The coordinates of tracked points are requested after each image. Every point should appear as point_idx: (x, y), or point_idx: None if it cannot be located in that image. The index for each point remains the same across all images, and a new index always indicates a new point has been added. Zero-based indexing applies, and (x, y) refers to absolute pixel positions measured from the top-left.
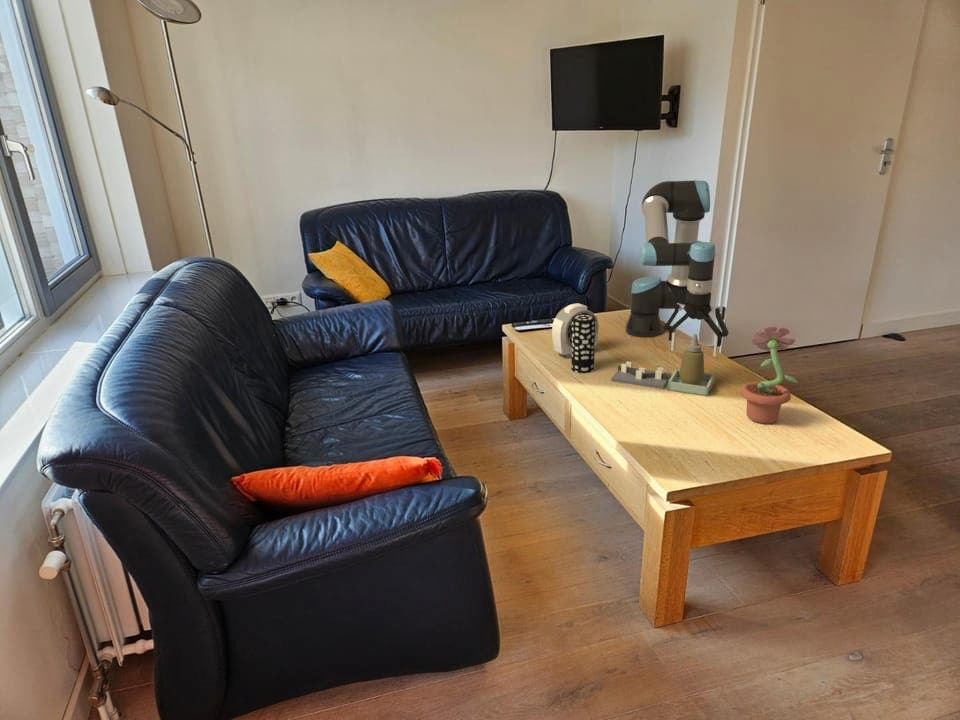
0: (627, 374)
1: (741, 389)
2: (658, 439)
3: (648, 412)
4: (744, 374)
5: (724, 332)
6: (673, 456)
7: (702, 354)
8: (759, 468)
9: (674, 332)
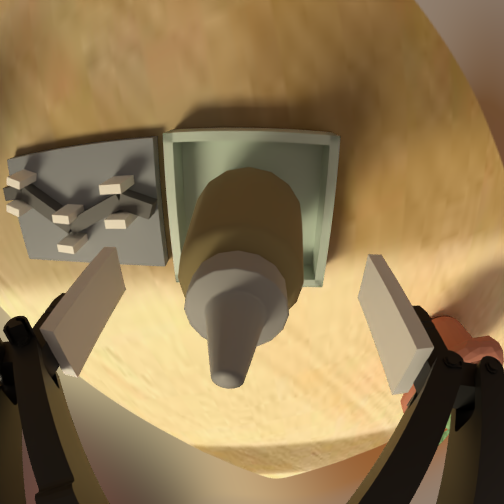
0: (42, 216)
1: (406, 406)
2: (240, 438)
3: (189, 383)
4: (426, 34)
5: (462, 422)
6: (270, 455)
7: (297, 295)
8: (377, 443)
9: (69, 367)
